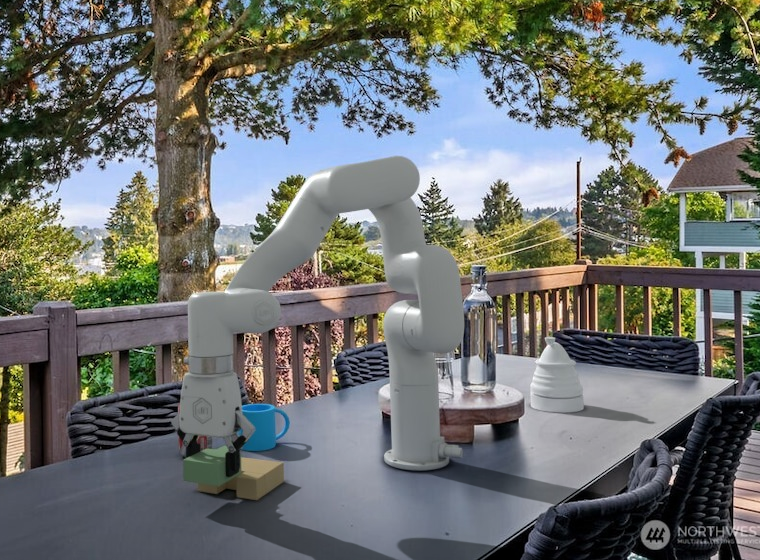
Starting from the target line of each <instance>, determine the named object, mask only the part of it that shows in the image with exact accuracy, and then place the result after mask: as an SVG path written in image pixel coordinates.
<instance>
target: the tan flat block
mask: <svg viewBox="0 0 760 560" xmlns="http://www.w3.org/2000/svg"><path fill="white" fill-rule="evenodd" d="M284 465H285V464H284V462H283V461H277V460H275V461H274V460H267V459H260V458H252V457H244V456H243V457H242V456H241V474H240V475H238V476H236V477H234V478H233V479H231V480H229V481H228V482H226V483H224V484H222V485H221V486H213V485H207V484H200V483H197V491H198V492H201V493H208V494H214V495H218V494H219V493H221V492H223V491H224V490H226V489H228V490H233V491H236V497H237V498H240V499H247V500H253V501H258V500H259V499H261V498H262V497H264V496H265V495H267V494H268V493H270V492H271V491H273V490H275V489H276V488H277V487H278V486H280V485H282V484H283V483H284V482H285V474H284V473H285V471H284V469H285V467H284Z"/></svg>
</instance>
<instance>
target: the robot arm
mask: <svg viewBox="0 0 760 560" xmlns="http://www.w3.org/2000/svg"><path fill="white" fill-rule="evenodd" d="M419 171H420V170H419V169H418V166H417V165H416V164H415V163H414V162H413V161H412V159H410V158H408V157H405V156H402V155H392V156H387V157H382V158H377V159H373V160H372V159H371V160H366V161H360V162H355V163H347V164H341V165H340V164H339V165H336V166H331V167H328V168H325V169H324V168H323V169H319V170H318V171H315V172H313V173H312V174H310V175H309V176H308V177H307V178H306V180H305V181H304V182H303V184H302V185H301V187H300V189H299V190H298V192H297V193H296V195H295V196H294V198H293V200H292V201H291V203H290V204H289V206H288V207H287V209H286V211H285V212H284V214H283V215H282V217H281V219H280V220H279V222H278V223H277V224H276V226H275V228H274V229H273V230H272V232H271V233H270V234H269V235H268V236H267V237H266V238H265V239H264V240H263V241H262V242H261V243H260V244H259V245H258V247H256V249H255V250H254V251H252V253H251V254H250V255H249V256H248V257H247V258H246V259H245V260H244V261H243V263H242V264H241V265H240V267H239V268H238V269H237V271H236V272H235V274H234V275H233V277H232V278H231V280H230V282H229V283H228V285H227V287H226V288H225V289H224V291H200V292H193V293H192V294H191V295H190V296H189V298H188V300H187V339H188V340H187V341H188V342H187V343H188V344H187V345H188V346H187V347H188V348H187V349H188V351H187V352H188V354H187V355H188V356H185V357H184V358H183V364H184V365H185V366H188V372H185V373H184V376H183V379H182V385H181V390H180V391H181V392H180V399H179V404H180V413H179V414H178V413H177V415H175V416H174V417H173V418H172V419H171V421H170V423H171V425H172V428H173V429H174V430H175V431H176V434H177V437H178V436H179V437H180V439H181V440H182V441H183V446H184V447H186V457H185V459H186V458H188V457H190V456H192V455H194V454H196V453H198V452H200V443H197V441H198V439H199V436H208V437H212V438H218V439H219V438H220V439H222V440H223V441H224V444H225V446H227V448H228V452H227V453H226V454H225V461H226V476H227V477H231V476H233V475H235V474H237V473H238V472H239V469H240V453H241V450H242V449H241V448H242V447H243V445H244V444H245V443H246V442H247V441H248V440H249V438H250V437H251V435H252V434H253V433H254V431H255V427H254V426H253V425H252V423H251V422H250V421H249V420H248V419H247V418H246V417H245V416H244V415H243V414H242V406H243V401H242V395H241V387H240V382H239V378H238V374H237V372H235V371H234V370H235V369H234V367H235V366H234V334H235V333H242V334H257V335H258V334H264V333H266V332H269V331H271V330H272V329H274V328H275V327H276V325H277V324H278V323H279V322H280V319H281V316H282V307H281V304H280V302H279V300H278V298H276V297H275V295H273V294H272V293H271V292H270V291H271V289H272V288H273V287H274V286H275V284H276V283H278V282H279V281H280V280H281V278H283V277H284V276H286V275H287V274H288V273H290V272H291V271H294V270H295V269H297V268H298V267H301V266H302V265H304V264H305V263H306V262H308V261H309V260H310V259H311V258H312V257H313V256H314V255H315V254H316V252H317V251H318V248H319V247H320V245H321V243H322V242H323V240H324V239H325V237H326V236H327V234H328V232H329V230H330V229H331V227H332V225H333V224H334V222H335V221H336V219H337V218H338V216H339V214H347V213H352V212H359V211H365V210H368V211H370V213H371V214H372V215H373V217H374V219H375V220H376V222H377V225H378V228H379V235H380V241H381V250H382V259H383V260H382V261H383V270H384V277H385V281H386V284H387V286H388V287H389V288H390V289H391V290H392V291H394V292H396V293H399V294H405V295H417V298H418V299H417V300H416V299H403V300H399V301H396V302H394V303H393V304H392V305H390V306H389V308H388V309H387V310H386V311H385V313H384V316H383V321H382V330H383V336H384V337H383V338H384V342H385V346H386V350H387V351H386V352H387V358H388V359H387V360H388V370H389V371H388V373H389V400H390V401H389V402H390V405H389V407H390V430H391V431H390V434H391V449H389V450H387V451H386V452H385V453H384V455H383V457H384V458H383V460H384V461H383V462H385V464H387V465H388V466H390V467H392V468H395V469H400V470H406V471H417V472H419V471H421V472H422V471H432V470H433V471H434V470H437V469H438V470H439V469H442V468H444V467H446V466H447V465H448V464H449V463H450V458H454V459H463V456H464V455H463V454H464V450H463V448H462V447H460V446H459V444H448V443H447V442H445V436H442V435H441V419H440V418H441V416H440V390H439V389H440V388H439V370H438V363H437V360H436V357H435V354H443V355H444V354H449V353H451V352H454V351H455V350H456V349H457V348H458V347H459V346H460V345H461V342H462V340H463V338H464V335H465V313H464V303H463V291H462V282H461V275H460V269H459V268H460V267H459V266H458V263H457V260H456V259H455V257H454V255H453V254H452V253H451V252H450V251H449V249H447V248H445V247H443V246H441V245H437V244H427V242H426V238H425V230H424V225H423V219H422V215H421V213H420V210H419V208H418V206H417V204H416V203H415V201H414V200H413V199H412V197H413V196H414V195H415V194H416V192H417V191H418V189H419V186H420V181H421V176H420V172H419ZM241 428H242V429H243V432H242V434H241V435H240V436H239V434H238V431H240V430H241Z"/></svg>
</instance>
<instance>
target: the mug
mask: <svg viewBox="0 0 760 560" xmlns="http://www.w3.org/2000/svg"><path fill="white" fill-rule="evenodd" d="M276 413H278V414H280V415H281V416H282V417H283V418H284V427H283V429H282V430H281V432H280V433H279V434H277V433H276V432H277V431H276ZM242 414H243V415H244V416H245V417H246V418H247V419H248V420H249V421H250V422H251V423H252V425H253V426H254V427H255V431H254V433H253V434H252V435H251V437H250V438H249V440H248V441H247V442H246V443H245V444H244V445H243V447H242V448H241V449H240V450H242V451H248V452H262V451H267V450H271V449H273V448H275V447H276V446H277V441H278V440H280V439H281V438H283V437H284V436H285V435H286V434H287V433H288V430H289V429H290V425H291V422H290V417H289V415H288V414H287V413H286V412H285V411H284V410H282V409H280V408H276V406H275V405H274V404H270V403H249V404H242ZM237 432H238V434H239V436H240V435H241V434H242V432H243V429H242V428H241V430H240V431H237ZM276 434H277V435H276Z"/></svg>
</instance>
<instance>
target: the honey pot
mask: <svg viewBox="0 0 760 560" xmlns="http://www.w3.org/2000/svg"><path fill="white" fill-rule="evenodd" d="M544 341H545V344H547V345H546V346H545V348H544V349H543V350H542V353H541V354H540V357H539V358H537V359H536V360H535V361H534V363H535V364H536V368H535V370H534V372H533V376H532V381H531V383H530V385H529V389H530V390H529V391H530V393H529V395H530V407H531V408H533V409H535V410H538V411H542V412H549V413H564V414H565V413H577V412H581V411H583V410H584V408H585V406H584V404H585V403H584V388H583V385H582V384H581V381H580V379H579V374H578V372H577V371H576V368H575V366H576V365H577V362H576V360H575V359H571V358H570V356H569V354H568V352H567V350H566V349H565V348H564V347H563V345H562V344H560V343H559V342H556V337H554V336H553V337H552V336H547V337H544Z"/></svg>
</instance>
